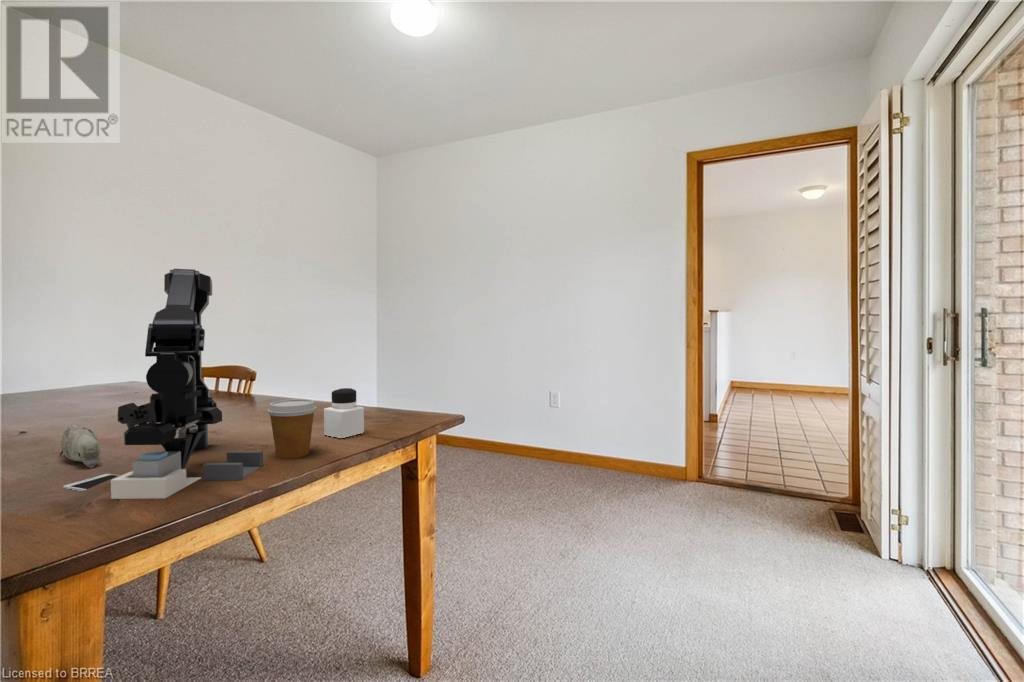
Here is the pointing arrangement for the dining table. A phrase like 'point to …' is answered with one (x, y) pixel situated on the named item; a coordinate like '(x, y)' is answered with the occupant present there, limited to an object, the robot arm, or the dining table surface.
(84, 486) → the smartphone
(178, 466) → the plug
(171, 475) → the port
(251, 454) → the holster
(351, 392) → the medicine bottle
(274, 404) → the disposable coffee cup
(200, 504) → the dining table surface
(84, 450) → the decorative bird
